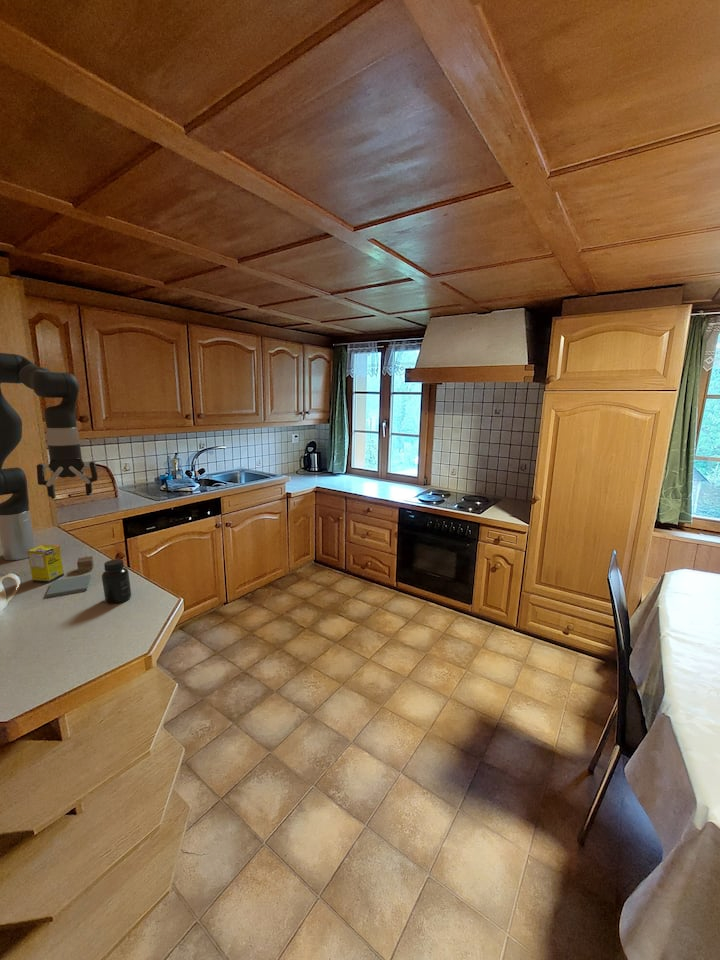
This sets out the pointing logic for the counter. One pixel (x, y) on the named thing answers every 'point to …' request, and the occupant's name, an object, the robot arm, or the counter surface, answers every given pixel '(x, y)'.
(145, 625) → the counter surface
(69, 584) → the pad
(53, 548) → the supplement box
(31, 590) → the counter surface
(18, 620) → the counter surface
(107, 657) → the counter surface
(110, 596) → the supplement bottle
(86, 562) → the walnut block
